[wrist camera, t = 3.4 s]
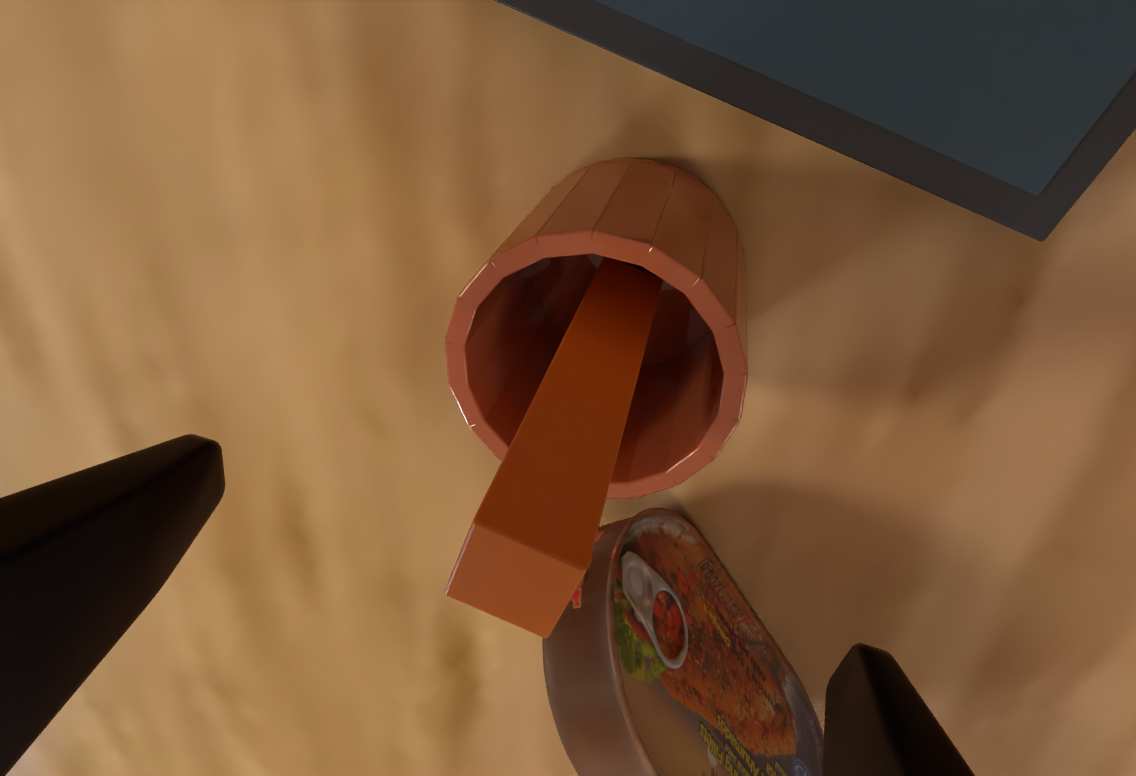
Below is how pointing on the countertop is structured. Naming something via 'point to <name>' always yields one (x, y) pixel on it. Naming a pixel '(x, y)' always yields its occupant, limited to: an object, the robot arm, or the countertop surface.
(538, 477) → the stylus
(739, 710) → the tin
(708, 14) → the tablet
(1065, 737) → the countertop surface
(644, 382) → the pen cup
